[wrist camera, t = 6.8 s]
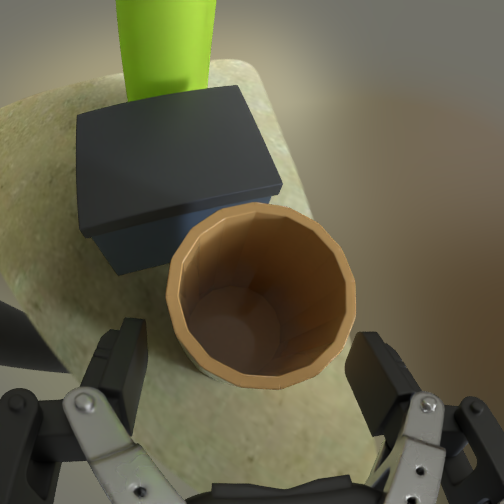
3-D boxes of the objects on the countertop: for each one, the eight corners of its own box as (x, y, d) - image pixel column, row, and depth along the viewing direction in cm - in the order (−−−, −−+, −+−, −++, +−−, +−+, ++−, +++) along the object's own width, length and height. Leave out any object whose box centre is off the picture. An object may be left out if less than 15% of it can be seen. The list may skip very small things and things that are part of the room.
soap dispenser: (132, 163, 22) (102, -127, 3) (133, 102, 24) (122, -124, 6) (211, 153, 23) (256, -133, 5) (200, 94, 25) (228, -129, 7)
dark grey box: (115, 279, 18) (78, 230, 12) (102, 184, 21) (76, 114, 14) (257, 244, 21) (283, 183, 14) (225, 157, 23) (238, 84, 17)
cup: (199, 395, 17) (200, 415, 8) (170, 297, 19) (148, 224, 10) (297, 364, 18) (380, 347, 10) (265, 272, 20) (316, 189, 11)
